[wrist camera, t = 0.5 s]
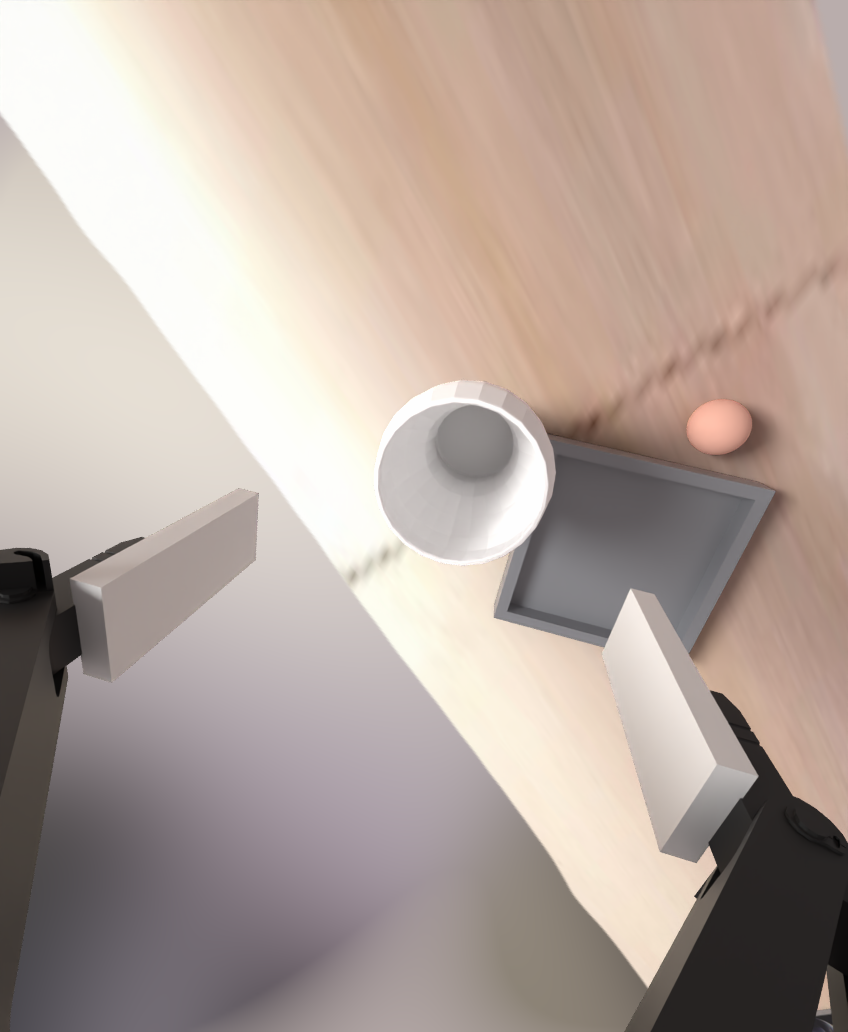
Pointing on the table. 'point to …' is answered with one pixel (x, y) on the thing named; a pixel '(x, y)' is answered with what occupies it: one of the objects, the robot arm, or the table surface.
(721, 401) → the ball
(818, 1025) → the smartphone
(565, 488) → the tray
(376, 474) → the cup
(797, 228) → the table surface
